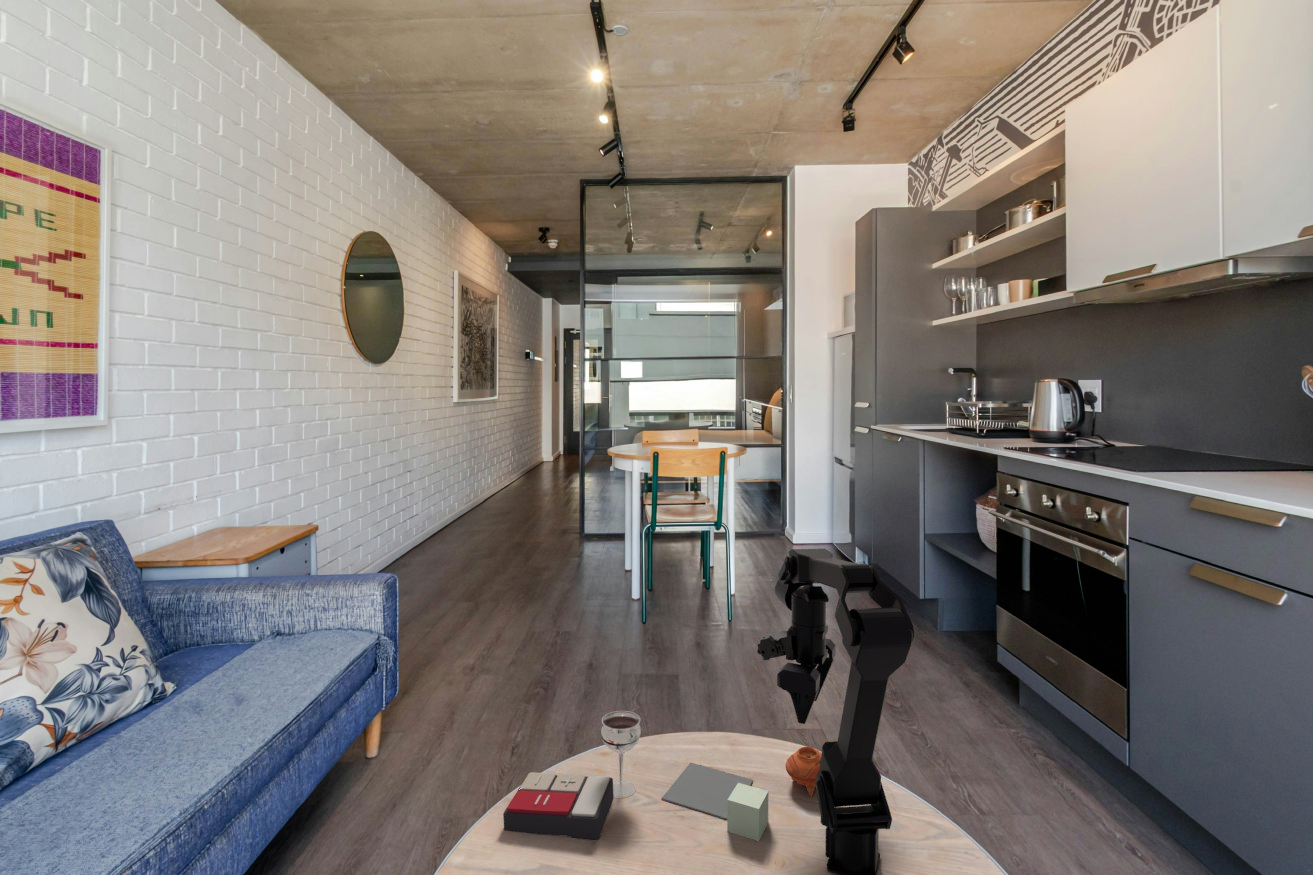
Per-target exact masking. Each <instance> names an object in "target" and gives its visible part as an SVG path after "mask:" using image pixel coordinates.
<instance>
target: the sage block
mask: <svg viewBox="0 0 1313 875" xmlns="http://www.w3.org/2000/svg"><path fill="white" fill-rule="evenodd" d="M769 792H770V791H769V790H765V789H762V788H758V787H754V786H748V785H745V784H741V783H738V784H737V785H736V787H735V789H734V790H733V792H732V793H731V795H730V796H729V798H728V800H727V821H726V823H727V824H726V825H727V826H726V828H727V829H726V830H727V833H732V834H735V835H738V836H740V837H741V836H742V837H744V838H746V839H750V840H754V841H757V842H759V841H760V840H761V838H762V835H763V834H764V831H765V830H766V827H767V825H768V824H769Z"/></svg>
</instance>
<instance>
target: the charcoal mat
mask: <svg viewBox="0 0 1313 875" xmlns="http://www.w3.org/2000/svg"><path fill="white" fill-rule="evenodd" d="M753 782H754V779H753V778H748V777H745V776H741V775H737V774H734V773H731V772H726V771H724V770H719V769H715V768H711V767H709V766H705V765H701V764H697V763H695V762H694V763H693V762H689V764H688V765H687V766H686V767H685V768H684V769H683V771H682V773H680V774H679V776H678V777H677V778H676V780H675V781H674V782H673V783H672V784H671V786H670V787H669V789H667V791H666V792H665V793H664V794H663V795H662V797H661V800H664V801H666V802H668V803H672V804H676V805H679V806H682V807H685V808H688V809H692V810H695V811H698V812H702V813H704V814H707V815H711V816H715V817H717V818H721V819H724V820H727V800H728V798H729V796H730V795H731V793H732V792H733V790H734V789H735V787H736V785H737V784H738V783H741V784H745V785H748V786H751V785H752V784H753Z"/></svg>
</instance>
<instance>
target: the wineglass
mask: <svg viewBox="0 0 1313 875" xmlns="http://www.w3.org/2000/svg"><path fill="white" fill-rule="evenodd" d="M601 723H602V725H603V726H602V727H601V730H600V734H601V740H602V742H603V744H604V745H605V746H606V748H608V749H609V750H610V751H612V752H615V753H617V754H618V767H619V768H618V770H619V780H616V781H613V793H614V798H616V799H617V798H618V799H624V798H629V797H631V796H632V795H634V793H635V792H636V789H637V788H636V786H635V785H634V783H633V782H630V781H628V780H623V771H624V770H623V769H624V754H625V753H626V752H628V751H631V750H632V749H633V748H634V747H635V746H636V745H637V744H638V743H639V741H640V738H641V733H642V731H641V730H642V729H641V726H640V723H641V716H639V714H637V713H635V712H633V711H628V710H616V711H615V710H614V711H611V712H608V713H606V714H605V715H603V717H602V718H601Z"/></svg>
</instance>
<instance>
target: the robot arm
mask: <svg viewBox="0 0 1313 875" xmlns="http://www.w3.org/2000/svg"><path fill="white" fill-rule="evenodd" d="M777 575H778V580H777V582H776V583H775V586H774V594H775V596H776V598H777V600H779V601H780V602H781V603H782V604H783V605H784V606H785V607H786V608H787V609H788V610H789V611H790V612H791V625H790V627H789V628H788V629H787V630H782V631H777V632H772V633H767V634H765V635H763V636H761V638H760V639H759V640H758V641H757V644H756V645H757V650H756V652H757V654H758V655H760V656H761V657H762V660H763V661H770V660H771V659H772V658H778V657H779V658H780V657H784V656H785V660H787V661H794V660H795V662H796V663H793V662H787V663H786V664H784V665H782V667H781V669H780V670H779V671H778V673H777V675H776V681H777V682H776V683H777V684H776V686H777V687H779V688H780V689H781V690H783V691H785V692H787V693H788V694H789V695H790V698H791V700H792V701H791V702H792V705H793V708H794V712H795V714H796V719H797V722H798V724H801V725H805V724H806V722H807V720H808V717H809V715H810V713H811V710H812V708H813V706H814V703H815V702H817V700H818V698H819V695H820V694H821V690H822V688H823V686H824V684H825V682H826V680H827V677H828V674H829V671H830V670H831V668H832V665H833V664H834V658H835V657H836V644H835V643H834V642H833V640H832V639H831V638H827V633H829V625H827V617H826V616H827V603H828V602H829V599H830V598H829V597H828V594H827V593H826V592H825V591H824V590H823V587H822V586H821V585H824V586H827V587H830V588H833V589H836V591H837V594H838V597H839V598H838V601H837V605H836V606H835V607H836V608H835V611H834V618H835V620H836V624H837V626H838V629H839V631H840V634H841V637H842V639H841V640H842V641H841V642H842V644H843V646H844V648H845V650H846V652H847V654H848V656H849V658H850V660H851V662H850V667H849V668H850V669H849V673H848V674H849V675H848V680H847V686H846V692H845V697H844V702H843V708H842V714H841V720H840V725H839V726H840V727H839V731H838V737H837V741H825V742H824V743H823V744H822V747H821V754H822V755H821V759H820V761H819V764H820V768H819V771H818V772H817V777H816V786H815V788H816V794H817V803H818V809H819V813H820V823H821V825H822V826H824V827H826V828H825V852H824V853H825V857H826V858H828V860H827V863H826V870H827V871H829V872H831V873H834V874H837V875H878V872H879V866H880V861H881V853H879V832H880V831H879V830H883V829H884V830H890V829H891V826H892V823H893V818H892V814H891V811H890V810H891V809H890V806H889V804H888V800H887V797H886V796H887V795H886V793H885V791H884V787H883V784H882V775H881V773H880V771H879V770H878V768H877V766H876V763H875V762H874V760H873V759H874V754H875V753H874V752H875V748H876V743H877V738H878V735H879V734H878V733H879V729H880V728H879V727H880V723H881V717H882V713H883V709H884V708H883V707H884V703H885V698H886V694H887V690H888V689H887V688H888V685H889V684H888V683H889V679H890V677H891V675H893V674H894V673H895V672H896V671H897V670H899V669H900V667H901V666H903V664H905V662H906V661H907V658H908V656H909V654H910V650H911V647H912V644H913V641H914V638H915V628H914V625H913V622H912V620H911V618H910V616H909V615H910V614H908V612H907V610H906V608H905V606H904V603H903V601H902V598H901V597H900V596H899V595H898V594H896V592H894V591H893V590H892V589H891V588H890V587H888V585H886V584H885V583H884V582H882V581H881V580H880V577H879V575H878V573H877V571H876V569H875V568H874V566H873V565H868V564H867V563H855V562H851V561H847V560H842V559H838V558H834V553H832V552H831V551H829V550H828V549H827V548H791V549H789V551H788V555H786V556H785V557H784V560H783V563H782V565H781V568H780V570H779V572H778V574H777ZM814 584H821V585H819V586H816V585H814ZM865 593H866V594H868V597H870V599H871V600H873V601H874V603H876V605H878V606H879V607H869V608H867V607H866V608H864V607H863V608H862V607H861V608H851V609H849V608H848V605H847V604H848V603H847V602H846V597H847V594H865Z"/></svg>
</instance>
